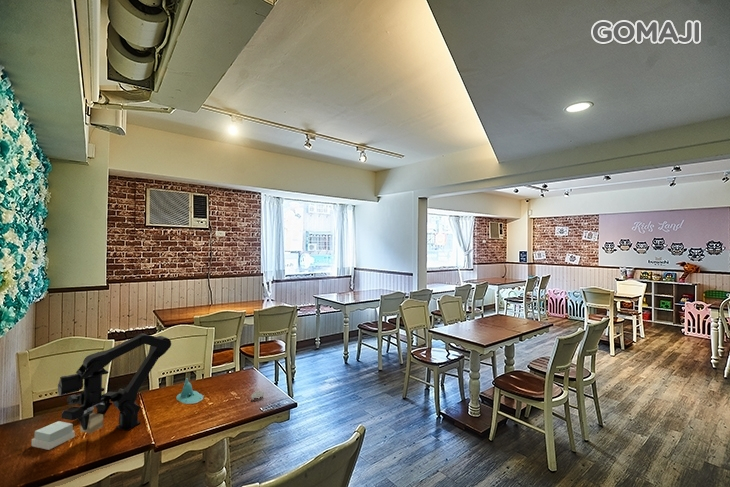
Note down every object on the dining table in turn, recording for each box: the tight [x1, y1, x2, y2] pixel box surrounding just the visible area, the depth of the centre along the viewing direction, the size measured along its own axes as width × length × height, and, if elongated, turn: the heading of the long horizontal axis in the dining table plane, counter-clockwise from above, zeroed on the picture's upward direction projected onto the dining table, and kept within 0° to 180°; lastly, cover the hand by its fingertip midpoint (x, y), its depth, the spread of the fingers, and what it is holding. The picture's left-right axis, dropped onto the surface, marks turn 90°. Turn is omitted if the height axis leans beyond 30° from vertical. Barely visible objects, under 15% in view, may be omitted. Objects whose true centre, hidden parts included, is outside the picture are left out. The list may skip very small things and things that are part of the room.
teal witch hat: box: [176, 377, 204, 405], centre depth 173 cm, size 12×20×9 cm, turn 47°
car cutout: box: [250, 390, 265, 401], centre depth 171 cm, size 15×7×4 cm, turn 117°
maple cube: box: [80, 412, 104, 434], centre depth 135 cm, size 5×5×5 cm
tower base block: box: [31, 430, 76, 451], centre depth 133 cm, size 9×9×3 cm
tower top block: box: [34, 420, 74, 442], centre depth 133 cm, size 8×8×3 cm
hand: (91, 426), depth 135 cm, fingers closed on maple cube, 5 cm apart
